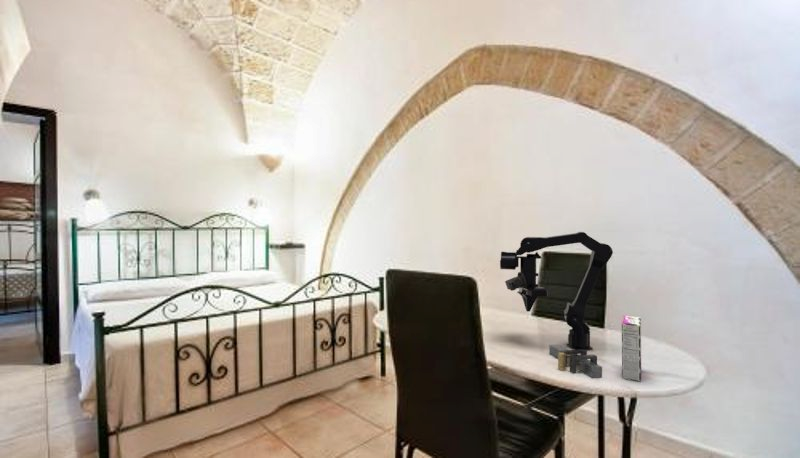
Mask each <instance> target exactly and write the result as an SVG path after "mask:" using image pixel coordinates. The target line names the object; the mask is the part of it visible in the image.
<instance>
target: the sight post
mask: <svg viewBox="0 0 800 458" xmlns="http://www.w3.org/2000/svg"><path fill="white" fill-rule="evenodd" d="M570 356H571V355H566V354H565V353H563V352H562V353H558V359H557V362H558V363H557V369H558V370H560V371H566V370H567V367H566V358H570Z"/></svg>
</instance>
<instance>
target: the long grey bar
mask: <svg viewBox="0 0 800 458" xmlns="http://www.w3.org/2000/svg"><path fill="white" fill-rule="evenodd" d="M548 349H549V355H550V356H552V357H554V358H556V359H557V360H558V353H561V350H569V349H567V348H566V347H563V346H562V345H560V344H559V343H558V344H549V348H548ZM567 355H571V356H572V355H579V354H567ZM567 366H570V358H567ZM576 371H579V372H580V373H582V374H583V375H586V376H587V377H589V378H591V379H601V378H602V379H603V366H602V365H599V364H598V363H597V364H596V363H594V362H592V361H590V359H582V360H576Z"/></svg>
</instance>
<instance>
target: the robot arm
mask: <svg viewBox="0 0 800 458" xmlns="http://www.w3.org/2000/svg"><path fill="white" fill-rule="evenodd" d="M573 244H580V245H583V246H584V247H586V248H587V249H588V250H589V251H591V252H590V258H589V265H588V268H587V270H586V272H585V276H584V277H583V279H582V282H581V285H580V287H579V289H578V292H577V293H576V296H575V298H574V300H573V301H572V302H571V303H570V302H567V303H566V307H565V309H564V310H563V313H564V319H565V322H566V324H567V326H569V327H571V329H569V331H568V334H567V343H566V346H568V347H570V348H572V349H573V350H580V349H584V350H586V351H587V350H593V347H592V346H591V331H590V330H591V328H590V327H589V325H588V323H587V322H586V321H585V315H586V308H587V307H586V306H587V304H588V302H589V299H590V297H591V295H592V292H593V290H594V287H595V285H596V282H597V281H598V277H599V276H600V273H601V272H602V269H603V268H604V267H605V266H606V265H607V263H608V262H609V261H610V259H611V258H612V257H613V253H614V251H613V248H612V246H610V245H609V244H607V243H602V242H599V241H597V240H596V239H594V238H593V237H591V236H590V235H588V234H587V233H586V232H584V231H577V232H574V233H567V234H561V235H559V234H558V235H552V236H546V237H543V236H542V237H541V236H526V237H523V238H522V240H521V241H520V246H519V248H518V249H516V251H515V252H514V251H512V252H511V251H508V252H507V251H501V252H500V260H499V265H500V266H499V268H500V270H511V271H512V270H517V268H519V270H520V271H518V273H517V276H514V277H512V278H510V279H507V280H505V281H504V283H505V286H506V288H507V290H510V291H511V292H512V291H515V290H517V289H518V291H516V293H517V294H519V295H520V296H521V298H522V301H523V304H524V308H525V311H526V312H531V311H532V308H533V306H534V304H535V303H536V300H537V299H538V297H548V295H549V294H548V293H549V292H548V289H547V288H546V287H542V286H539V284H538V283H537V277H539V273H538V272H537V259H539V260H540V259H542V256H541V255H540V254H539V252H538V251H539V250H542V249H546V248H550V247H558V246H565V245H566V246H567V245H573ZM533 252H535V253H533ZM524 254H526V256H523V255H524ZM519 260H520V263H519ZM519 264H520V266H519Z"/></svg>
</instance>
